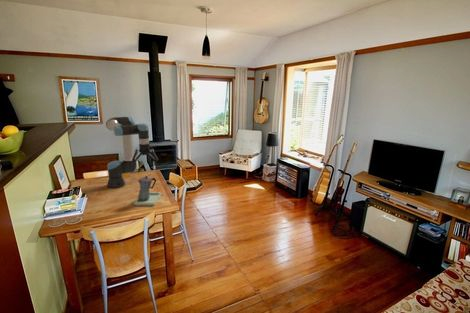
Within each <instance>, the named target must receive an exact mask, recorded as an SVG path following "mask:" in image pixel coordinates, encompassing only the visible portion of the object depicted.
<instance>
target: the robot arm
mask: <svg viewBox="0 0 470 313" xmlns="http://www.w3.org/2000/svg"><path fill="white" fill-rule="evenodd" d="M105 126H106V128H107V129H108V130H109V131H112V132H113V134H114V136H116V137H122V138H121V139H122V148H123V157H124V158H123V159H122V161H121V160H112V161H110V162H108V163H107V168H106V169H107V174H108V175H107V176H108V179H107V180H108V181H107V183H106V184H107V188H110V189H117V188H122V187H124V186H125V185H126V181H125V179H124V178H123V175H125V174H129V173H130V174H131V173H136V172H137V171H138V169H139V158H141V156H148V157H149V158H151V160H152V165H153V170H154V171H155V170H156V166H157V162H158V161H159V158H158V156H157V154H156V151H155V150H154V148H152V149H150V148H151V147H150V134H149V129H150V128H149V124H147V123H144V122H143V123H135V120H134V118H133V117H132V116H116V117H110V118H109V119H108V120H107V121H106V122H105ZM133 135H138V136H137V137H138V143H139V144H138V146H139V147H138V148H139V149H138V148H136V149H135V150H134V142H133ZM138 152H139V154H138ZM150 152H151V153H150Z"/></svg>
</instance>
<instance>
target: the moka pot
mask: <svg viewBox="0 0 470 313" xmlns="http://www.w3.org/2000/svg"><path fill="white" fill-rule="evenodd" d="M152 181H153V183H152ZM138 182H139V186H140V187H139V193H138V195H137V199H138V198H139V199H140V200H148V199H149V192H150V189H153V188H154V186H155V184H156V182H157V179H156V178H155V177H148V176H147V175H145V176H144V177H140V178H139V179H138ZM151 184H152V185H151Z"/></svg>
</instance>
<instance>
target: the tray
mask: <svg viewBox="0 0 470 313" xmlns="http://www.w3.org/2000/svg"><path fill="white" fill-rule="evenodd" d="M161 196H162V192H158V191H155V192H154V191H153V192H151V191H149V199H148V200H140V199H139V198H138V197H137V198H136V200H135V201H134V202H133V206H135V207H136V206H137V207H138V206H139V207H141V206H142V207H144V206H145V207H146V206H147V207H154V206H156V204H157V203H158V201H159V200H160V197H161Z"/></svg>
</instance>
